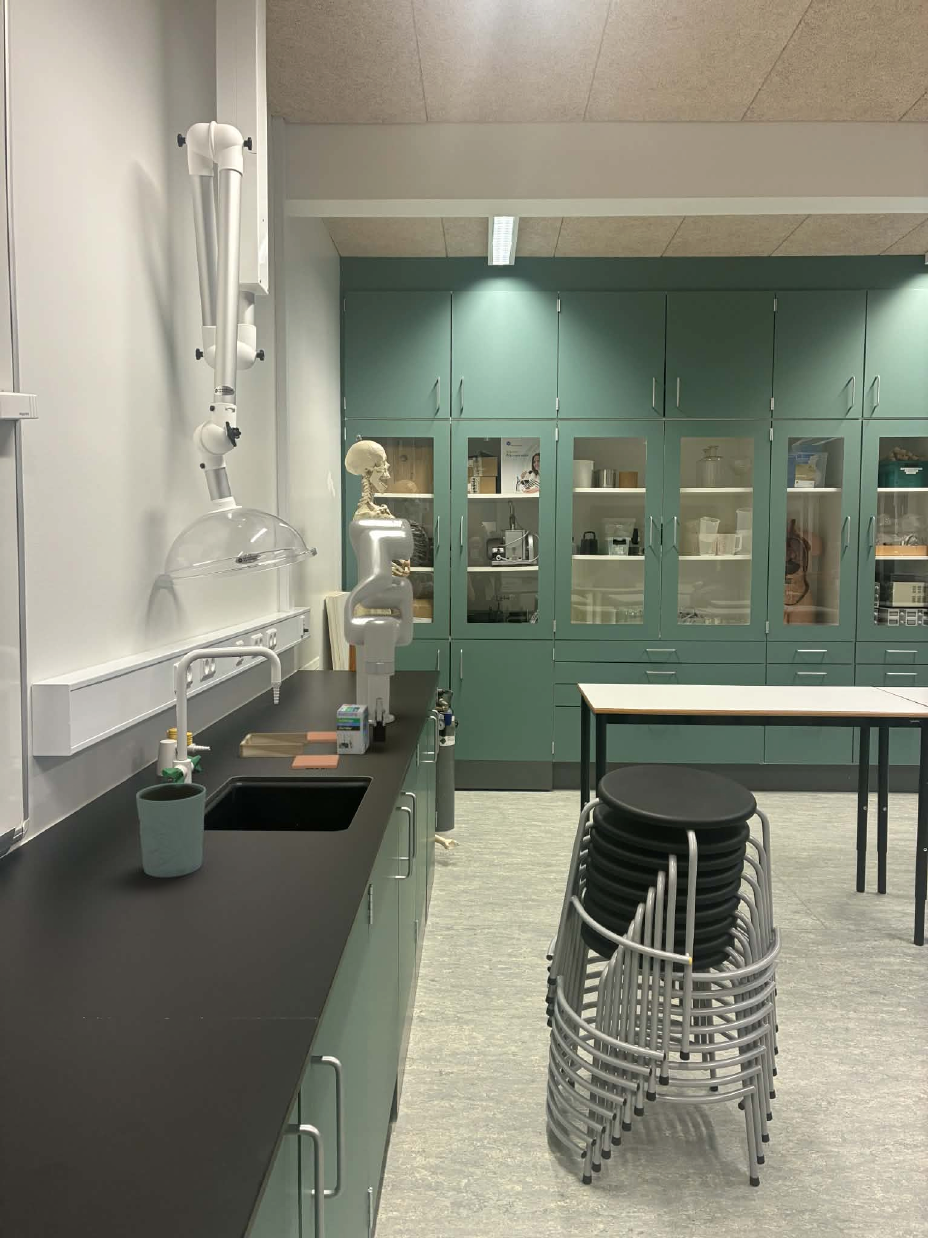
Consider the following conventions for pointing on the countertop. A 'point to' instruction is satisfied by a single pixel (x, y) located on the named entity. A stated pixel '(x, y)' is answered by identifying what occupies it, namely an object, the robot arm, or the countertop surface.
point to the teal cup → (171, 828)
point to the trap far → (321, 737)
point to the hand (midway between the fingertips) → (379, 741)
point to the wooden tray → (272, 745)
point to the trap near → (315, 761)
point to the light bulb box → (352, 729)
